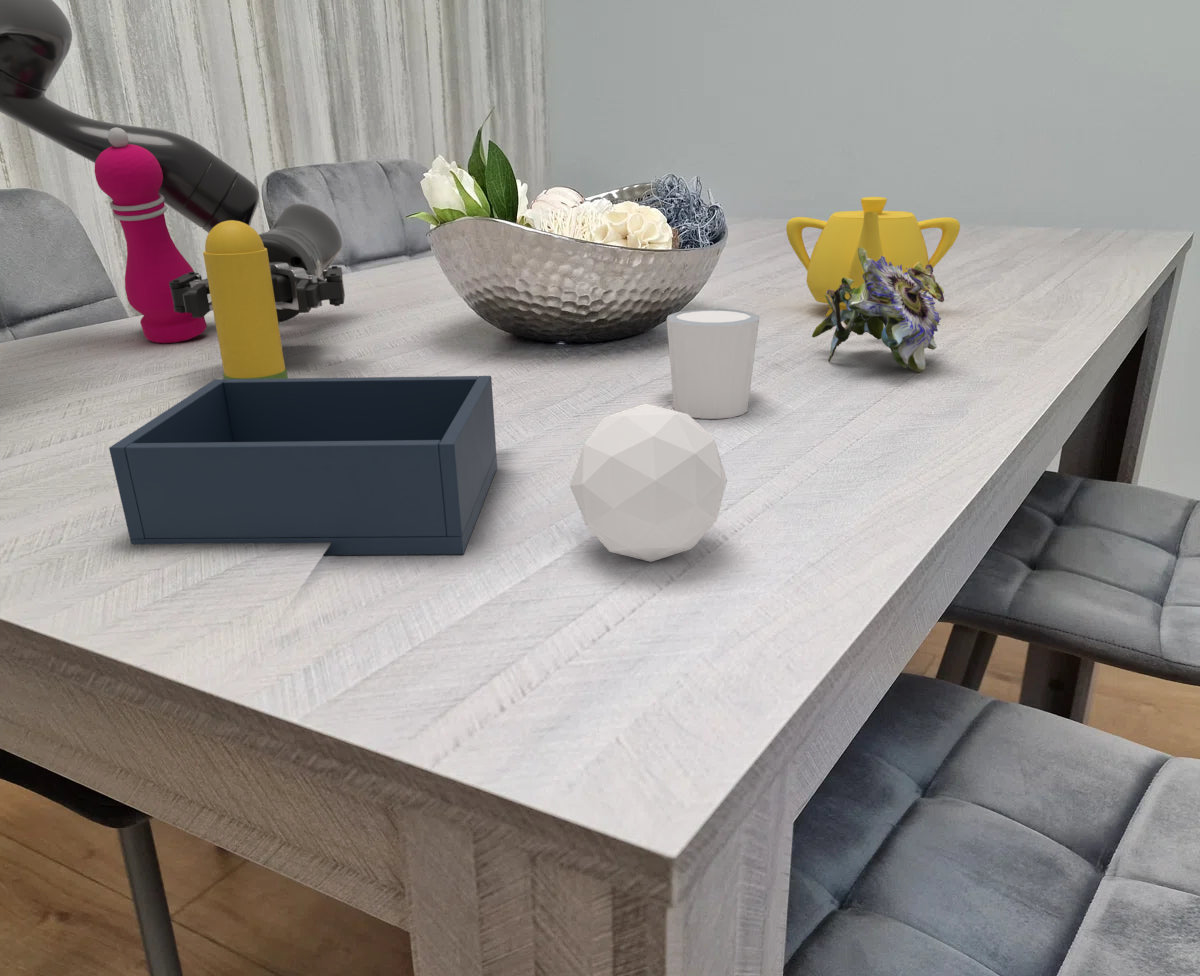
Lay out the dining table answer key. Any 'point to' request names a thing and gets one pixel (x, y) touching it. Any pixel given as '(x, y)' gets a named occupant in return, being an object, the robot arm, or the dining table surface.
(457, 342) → the dining table surface
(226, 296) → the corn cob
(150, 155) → the pepper mill
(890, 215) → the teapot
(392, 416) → the dark blue open box
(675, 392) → the shot glass
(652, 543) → the geometric ball
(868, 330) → the passion flower
